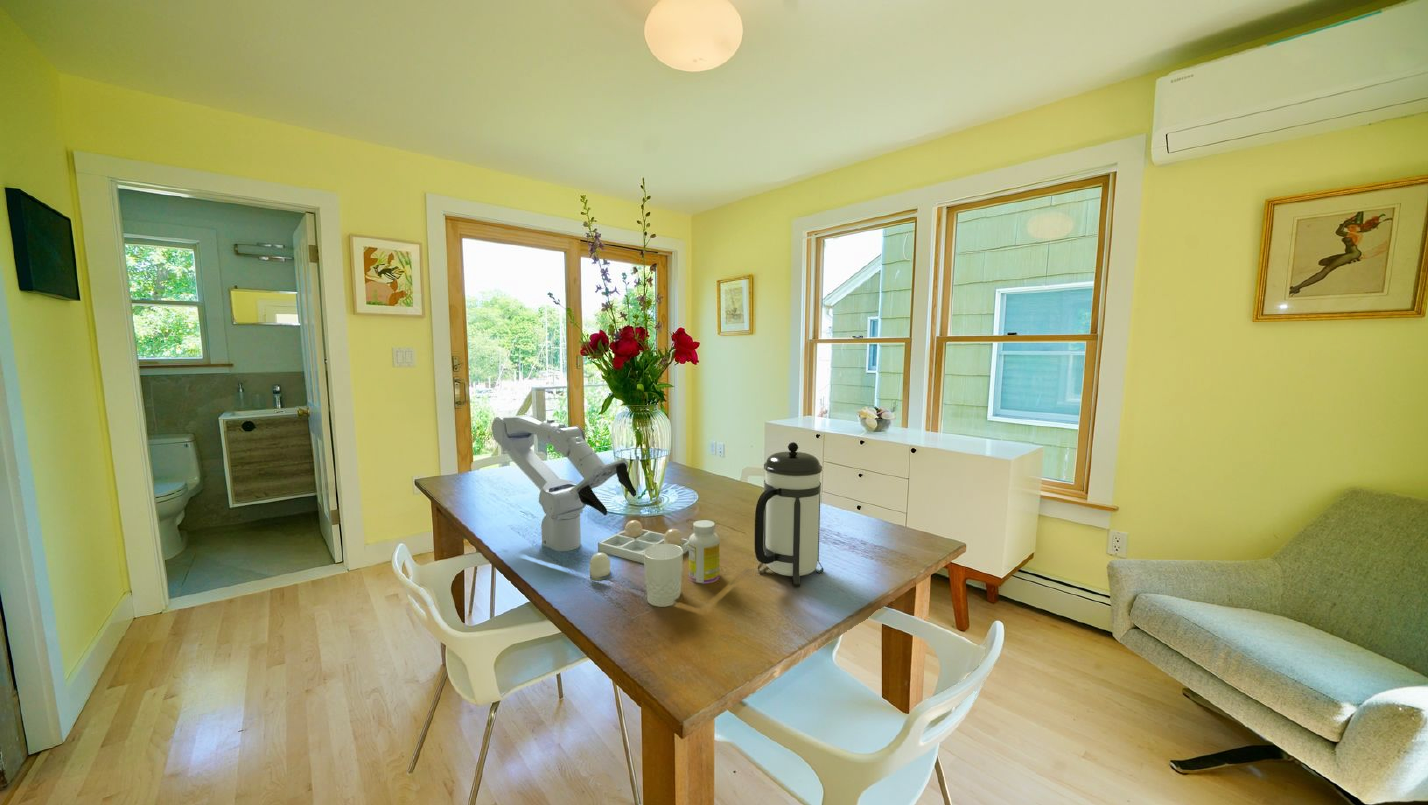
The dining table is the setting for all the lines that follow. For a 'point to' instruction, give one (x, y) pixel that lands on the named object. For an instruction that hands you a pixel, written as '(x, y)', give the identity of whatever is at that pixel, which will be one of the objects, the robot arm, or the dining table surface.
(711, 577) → the supplement bottle
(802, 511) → the coffee press
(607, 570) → the cream egg
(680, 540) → the brown egg back right
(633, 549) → the egg carton
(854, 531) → the dining table surface
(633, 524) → the brown egg back left
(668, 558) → the white cup
